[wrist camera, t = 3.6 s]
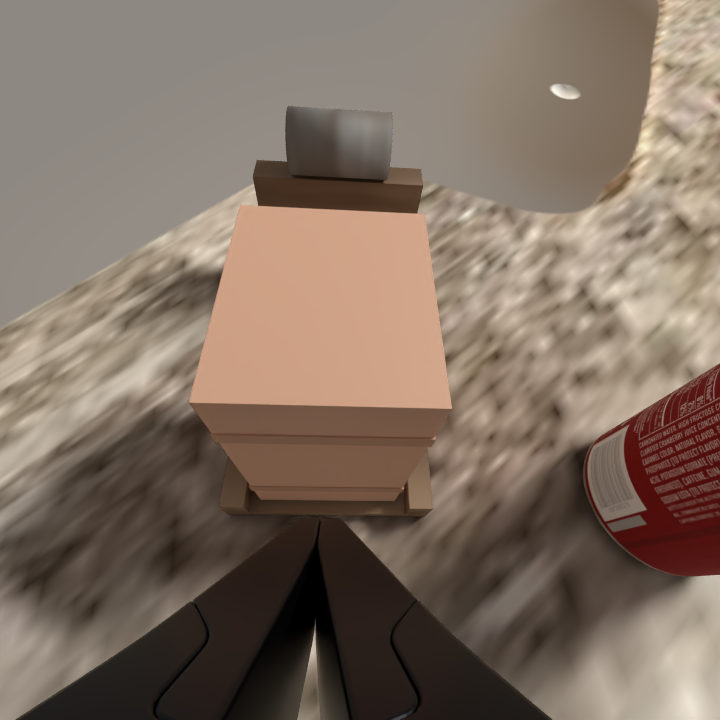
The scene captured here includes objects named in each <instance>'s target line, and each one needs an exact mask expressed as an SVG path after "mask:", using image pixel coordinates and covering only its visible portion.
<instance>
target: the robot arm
mask: <svg viewBox="0 0 720 720" xmlns="http://www.w3.org/2000/svg"><path fill="white" fill-rule="evenodd" d="M315 620H316V654H317V670H318V687H319V704H320V720H552V719H551V718H550V717H548V716H547V715H546V714H545V713H544V712H542V711H541V710H540V709H539V708H538V707H537V706H535V705H534V704H533V703H532V702H531V701H529V700H528V699H527V698H526V697H525V696H524V695H522V694H521V693H520V692H519V691H518V690H516V689H515V688H514V687H513V686H512V685H510V684H509V683H508V682H507V681H506V680H505V679H503V678H502V677H501V676H500V675H499V674H497V673H496V672H495V671H494V670H493V669H492V668H490V667H489V666H488V665H487V664H486V663H484V662H483V661H482V660H481V659H480V658H479V657H478V656H476V655H475V654H474V653H473V652H472V651H471V650H470V649H468V648H467V647H466V646H465V645H464V644H463V643H462V642H461V641H459V640H458V639H457V638H456V637H455V636H454V635H453V634H452V633H451V632H450V631H449V630H448V629H447V628H446V627H445V626H444V625H443V624H442V623H441V622H440V621H439V620H438V619H437V618H436V617H435V616H433V615H432V614H431V612H430V611H429V610H428V609H427V608H426V607H425V606H424V605H423V604H422V603H421V602H420V601H417V599H416V598H415V597H414V596H413V595H412V593H411V592H410V591H409V590H408V589H407V588H406V587H405V586H404V585H403V584H402V583H401V582H400V581H399V580H398V579H397V578H396V577H395V576H394V574H393V573H392V572H391V571H390V570H389V569H388V568H387V567H386V566H385V565H384V564H383V563H382V562H381V561H380V560H379V559H378V558H377V557H376V555H375V554H374V553H373V552H372V551H371V550H370V549H369V548H368V547H367V546H366V545H365V544H364V543H363V542H362V541H361V540H360V539H359V537H358V536H357V535H356V534H355V533H354V532H353V531H352V530H351V529H350V528H349V527H348V526H347V525H346V524H345V523H344V522H343V521H342V520H341V519H340V518H329V517H324V518H322V519H321V522H320V519H319V518H317V517H302V518H300V519H299V520H297V521H296V522H295V523H294V524H292V525H291V526H290V527H288V528H287V529H286V530H284V531H283V532H282V533H280V534H279V535H278V536H276V537H275V538H274V539H273V540H271V541H270V542H269V543H267V544H266V545H265V546H263V547H262V548H261V549H259V550H258V551H257V552H256V553H254V554H253V555H252V556H250V557H249V558H248V559H246V560H245V561H244V562H242V563H241V564H240V565H239V566H237V567H236V568H235V569H233V570H232V571H231V572H229V573H228V574H227V575H225V576H224V577H223V578H222V579H220V580H219V581H218V582H216V583H215V584H214V585H212V586H211V587H210V588H208V589H207V590H206V591H205V592H203V593H202V594H201V595H199V596H198V597H197V598H195V599H194V600H193V602H189V603H188V604H186V605H185V606H184V607H182V608H181V609H180V610H178V611H177V612H176V613H174V614H173V615H172V616H170V617H169V618H168V619H166V620H165V621H163V622H162V623H161V624H159V625H158V626H157V627H155V628H154V629H152V630H151V631H150V632H148V633H147V634H146V635H144V636H143V637H141V638H140V639H138V640H137V641H135V642H134V643H132V644H131V645H129V646H128V647H126V648H125V649H123V650H122V651H120V652H119V653H117V654H116V655H114V656H113V657H111V658H110V659H108V660H107V661H105V662H104V663H102V664H101V665H99V666H98V667H96V668H95V669H93V670H92V671H90V672H89V673H87V674H85V675H84V676H82V677H81V678H79V679H78V680H76V681H75V682H73V683H72V684H70V685H68V686H67V687H65V688H64V689H62V690H61V691H59V692H58V693H56V694H54V695H53V696H51V697H50V698H48V699H47V700H45V701H44V702H42V703H41V704H39V705H37V706H36V707H34V708H33V709H31V710H30V711H28V712H27V713H25V714H23V715H22V716H20V717H19V718H17V719H16V720H297V717H298V712H299V707H300V702H301V697H302V692H303V687H304V682H305V677H306V672H307V667H308V662H309V657H310V652H311V647H312V642H313V636H314V630H315Z"/></svg>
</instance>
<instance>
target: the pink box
mask: <svg viewBox="0 0 720 720" xmlns="http://www.w3.org/2000/svg"><path fill="white" fill-rule="evenodd" d="M189 404H190V405H191V406H192V408H193V409H194V410H195V412H196V413H197V414H198V416H199V417H200V418H201V420H202V421H203V422H204V424H205V425H206V426H207V428H208V429H209V431H210V437H211V438H212V439H213V441H214V442H215V443H219V444H220V445H221V447H222V448H223V449H224V451H225V452H226V453H227V455H228V456H229V457H230V459H231V460H232V462H233V463H234V464H235V466H236V467H237V468H238V470H239V471H240V472H241V474H242V475H243V476H244V478H245V479H246V480H247V482H248V483H249V488H250V489H251V490H252V491H255V493H256V494H257V495H258V497H259V498H260V499H261V500H327V501H395V500H396V498H397V496H398V495H399V493H402V492H403V490H404V485H405V483H406V482H407V480H408V479H409V477H410V475H411V474H412V472H413V471H414V469H415V467H416V466H417V464H418V462H419V461H420V459H421V458H422V456H423V454H424V453H425V451H426V450H427V448H428V447H431V446H432V445H433V443H434V442H435V440H436V437H435V435H436V434H437V432H438V430H439V429H440V427H441V425H442V424H443V422H444V421H445V419H446V417H447V416H448V414H449V413H450V411H451V409H452V406H451V399H450V392H449V385H448V378H447V370H446V363H445V356H444V349H443V342H442V335H441V328H440V320H439V313H438V306H437V299H436V292H435V285H434V277H433V270H432V263H431V256H430V249H429V242H428V234H427V227H426V220H425V214H412V213H391V212H371V211H350V210H330V209H309V208H289V207H268V206H247V205H240V207H239V211H238V215H237V219H236V223H235V226H234V230H233V234H232V238H231V242H230V246H229V250H228V253H227V257H226V261H225V265H224V269H223V273H222V277H221V280H220V284H219V288H218V292H217V296H216V300H215V304H214V307H213V311H212V315H211V319H210V323H209V327H208V331H207V334H206V338H205V342H204V346H203V350H202V354H201V358H200V361H199V365H198V369H197V373H196V377H195V381H194V385H193V388H192V392H191V396H190V400H189Z"/></svg>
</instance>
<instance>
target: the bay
mask: <svg viewBox="0 0 720 720" xmlns="http://www.w3.org/2000/svg"><path fill="white" fill-rule="evenodd" d="M285 132H286V155H287V162H282V161H264V160H263V161H262V160H257V162H256V166H255V170H254V174H253V180H254V185H255V190H256V196H257V201H258V206H268V207H289V208H309V209H330V210H350V211H371V212H391V213H412V214H417V212H418V207H419V202H420V198H421V193H422V188H423V181H422V174H421V169H410V168H392V167H390V161H391V151H392V135H393V115H392V113H390V112H373V111H358V110H342V109H341V110H340V109H325V108H309V107H293V106H288V107H287V111H286V130H285ZM219 507H220V508H221V509H222V510H224V511H225V512H226V513H227V514H229V515H318V516H426V515H427V514H428V513H429V512H430V511H431V510H432V509H433V503H432V493H431V483H430V472H429V462H428V452H427V450H426V451H425V453H424V454H423V456H422V458H421V459H420V461H419V462H418V464H417V466H416V467H415V469H414V471H413V472H412V474H411V475H410V477H409V479H408V480H407V482H406V483H405V485H404V490H403V492H402V493H399V495H398V496H397V498H396V500H395V501H327V500H261V499H260V498H259V497H258V495H257V494H256V493H255V491H252V490H251V489H250V488H249V483H248V482H247V480H246V479H245V478H244V476H243V475H242V474H241V472H240V471H239V470H238V468H237V467H236V466H235V464H234V463H233V462H232V460H231V459H230V457H229V456H228V459H227V465H226V470H225V476H224V481H223V486H222V492H221V497H220V503H219Z"/></svg>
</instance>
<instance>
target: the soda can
mask: <svg viewBox="0 0 720 720" xmlns="http://www.w3.org/2000/svg"><path fill="white" fill-rule="evenodd" d="M583 482H584V488H585V492H586V495H587V498H588V501H589V504H590V506H591V508H592V510H593V512H594V514H595V516H596V518H597V519H598V521H599V523H600V524H601V525H602V527H603V528H604V530H605V531H606V532H607V533H608V534H609V536H610V537H611V538H612V539H613V540H614V541H615V542H616V543H617V544H618V545H619V546H620V547H621V548H622V549H623V550H625V551H626V552H627V553H628V554H630V555H631V556H632V557H634V558H635V559H637V560H638V561H640V562H642V563H643V564H645V565H647V566H649V567H651V568H653V569H655V570H658V571H661V572H664V573H667V574H671V575H676V576H685V577H687V576H706V575H720V364H718V365H716V366H715V367H713V368H712V369H710V370H708V371H707V372H705V373H703V374H702V375H700V376H698V377H697V378H695V379H694V380H692V381H690V382H689V383H687V384H685V385H684V386H682V387H680V388H679V389H677V390H675V391H674V392H672V393H671V394H669V395H667V396H666V397H664V398H662V399H661V400H659V401H657V402H656V403H654V404H652V405H651V406H649V407H648V408H646V409H644V410H643V411H641V412H639V413H638V414H636V415H634V416H633V417H631V418H629V419H628V420H626V421H625V422H623V423H621V424H620V425H618V426H616V427H615V428H613V429H611V430H610V431H608V432H607V433H605V434H603V435H602V436H600V437H599V438H598V439H597V440H595V441H594V443H593V444H592V445H591V447H590V448H589V450H588V452H587V454H586V457H585V460H584V465H583Z"/></svg>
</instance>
